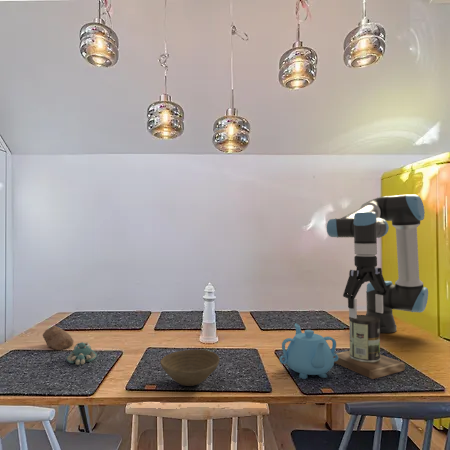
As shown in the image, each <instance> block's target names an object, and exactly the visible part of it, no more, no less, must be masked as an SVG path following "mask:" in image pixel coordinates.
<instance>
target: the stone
mask: <svg viewBox="0 0 450 450" xmlns="http://www.w3.org/2000/svg"><path fill="white" fill-rule="evenodd" d="M42 338H43V339H44V342H45V343H46V346H47V347H48V348H52V349H53V350H54V351H55V350H56V351H61V350H65V349H69V348H70V347H72V345H74V339H73V337H72V336H71V334H69V333H68V332H66V330H64V329H63V328H61V327H58V326H56V325H53V326H52V327H49V328H48V329H46V330H44V332H43V333H42Z"/></svg>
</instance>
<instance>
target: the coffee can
mask: <svg viewBox="0 0 450 450" xmlns="http://www.w3.org/2000/svg"><path fill="white" fill-rule="evenodd" d="M348 319H349V351H350V357H351V358H352V359H354V360H357V361H360V362H370V363H371V362H378V361H380V355H381V349H380V346H381V345H380V343H381V341H380V340H381V338H380V334H381V332H380V319H379V318H377V317H374V316H368V315H366V314H357V318H356V319H355V318H351V317H349V316H348Z"/></svg>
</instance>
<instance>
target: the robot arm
mask: <svg viewBox="0 0 450 450" xmlns="http://www.w3.org/2000/svg"><path fill="white" fill-rule="evenodd" d="M425 212H426V211H425V206H424V203H423V200H422V198H421V197H420V196H419V195H417V194H399V195H397V194H396V195H385V196H379V197H376V198H373V199H371V200H369V201H366V202H364V203H363V204H362V205H361V206H360V207H359V208H358V209H356V210H354V211H352V212H350V213H348V214H347V215H345V216H342V217H340V218H330V219H329V220H328V221H327V223H326V233H327V235H328V236H329V237H330V238H354V239H353V243H354V244H353V245H354V246H353V247H354V248H353V249H354V255H355V256H354V259H353V261H354V267H356V269H350V270H349V273H348V279H347V280H346V281H347V282H346V285H345V288H344V291H343V294H342V297H343V298H346V299H347V306H348V318H349V317H351V318H355V319H356V318H357V315H358V309H357V306H358V305H357V304H358V303H357V302H358V301H357V299H356V297H357V295H358V293H359V291H360V289H361V287H362V286H363V284H365V283H367V284H366V291H365V292H366V314H365V315H368V316H374V317H377V318H379V319H380V334H381V333H382V334H384V333H386V334H390V333H395V332H397V328H398V327H397V323H396V321H395V318H394V315H393V310H396V311H403V312H411V313H423V312H425V309H426V307H427V303H428V299H429V298H428V297H429V289H428V288H427V287H426V286H424V282H423V281H422V280H421V279H420V272H419V271H420V270H419V266H420V265H419V249H418V247H419V245H418V227H419V226H420V225H421V221H423V220H424V219H425ZM388 222H391V225H392V227H394V228H395V236H396V237H395V238H396V253H397V254H396V255H397V257H396V258H397V271H398V272H397V274H398V276H397V277H398V278H397V280H396V281H395V283H394V284H393V282H392V281H391V280H385V278H384V276H383V273H382V272H383V271H382V268H381V267H378V256H377V255H378V245H377V243H378V239H379V238H382V237H384V236H386V234H388V232H389V228H390V226H389V223H388ZM377 238H378V239H377Z"/></svg>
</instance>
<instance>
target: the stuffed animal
mask: <svg viewBox="0 0 450 450" xmlns="http://www.w3.org/2000/svg"><path fill="white" fill-rule="evenodd" d="M97 356H98V353H96V352H95V351H94V350H93V348H92V347H91V344H90V343H89V342H86V341H85V342H84V341H81V342H78V343H76V344H75V345H74V347H73V351H72V352H71V353H69V354H68V355H66V357H65V359H66V361H67V362H68V363H69V364H75V365H77V366H79V365H80V364H81V365H84V364H85V363H91V362H93V361H94V360H95V359H96V358H97Z"/></svg>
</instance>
